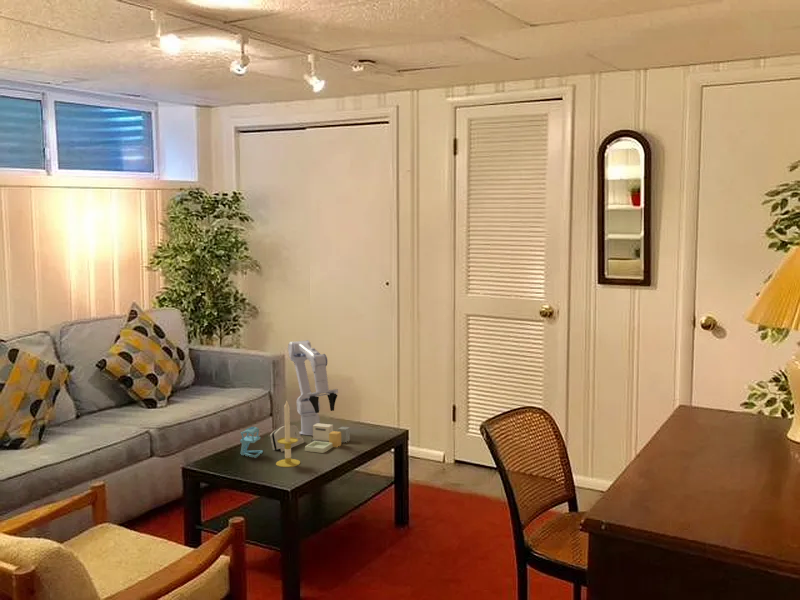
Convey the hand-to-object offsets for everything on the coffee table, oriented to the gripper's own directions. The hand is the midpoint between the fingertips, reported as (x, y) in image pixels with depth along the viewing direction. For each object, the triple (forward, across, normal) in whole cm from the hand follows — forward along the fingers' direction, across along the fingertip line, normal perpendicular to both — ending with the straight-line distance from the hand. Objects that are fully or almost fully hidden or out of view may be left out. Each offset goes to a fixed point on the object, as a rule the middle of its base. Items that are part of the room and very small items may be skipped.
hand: (324, 411), depth 350 cm
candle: (+19, -6, -26) cm, 33 cm away
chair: (+14, -26, -22) cm, 37 cm away
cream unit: (+13, -6, +7) cm, 16 cm away
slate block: (+14, +2, +11) cm, 18 cm away
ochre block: (+15, +2, +3) cm, 16 cm away
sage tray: (+16, -3, -4) cm, 17 cm away
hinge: (+13, -18, -5) cm, 23 cm away
